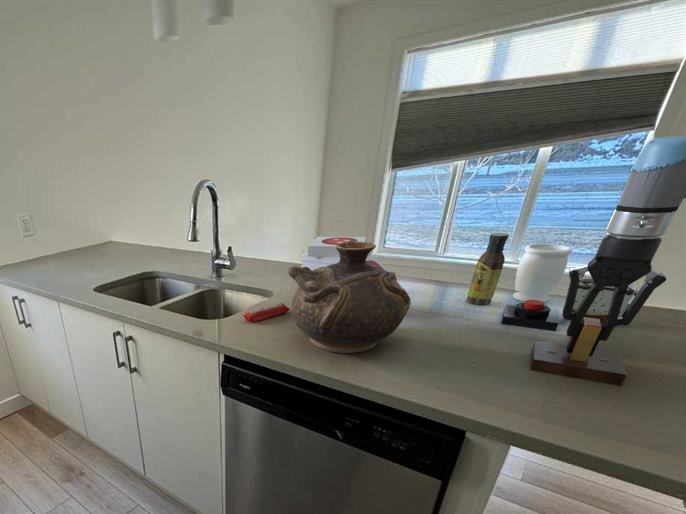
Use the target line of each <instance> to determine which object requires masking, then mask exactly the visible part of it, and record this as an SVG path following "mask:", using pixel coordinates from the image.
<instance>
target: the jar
mask: <svg viewBox="0 0 686 514" xmlns="http://www.w3.org/2000/svg"><path fill="white" fill-rule="evenodd" d="M523 250H524V252H525V253H524V254H523V256H522V257H521V259H520V261H519V263H518V266H517V270H516V274H515V280H514V281H515V282H514V288H515V289H514V290H515V292H514V293H513V294H512V297H513V299H515V300H517V301H519V302H523V303H525V301H526V300H540V301H543V302H545V303H546V302H548V301H549V295H550V294H551V293H552V292H553V291H554V290H555V288H556V287H557V285H558V284H559V282H560V280H561V279H562V278H563V276H564V273H565V271H566V268H567V265H568V261H569V255H571V254H572V253H573V250H574V248H573V247H572V246H568V245H565V244H564V245H563V244H554V243H532V244H531V243H530V244H527V245H525V246H524V249H523ZM516 291H519V292H516Z"/></svg>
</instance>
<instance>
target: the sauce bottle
mask: <svg viewBox="0 0 686 514" xmlns="http://www.w3.org/2000/svg"><path fill="white" fill-rule="evenodd" d="M508 239H509V233H506V232H492V233H490V235H489V241H488V244H487V247H486V250H485V252H483V253H482V255H480V256H479V258H478V260H477V263H476V265H475V269H474V272H473V275H472V279H471V281H470V285H469V288H468V292H467V297H466V301H467V302H468V303H470V304H471V305H475V306H486V305H487V306H488V305H489V304H491V302H492V299H493V297H494V296H495V295H494V294H495V292H496V289H497V286H498V283H499V280H500V277H501V274H502V271H503V268H504V264H505V261H506V257H505V255H504V251H505V250H504V249H505V245H506V242H507V241H508Z"/></svg>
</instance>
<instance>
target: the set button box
mask: <svg viewBox="0 0 686 514" xmlns="http://www.w3.org/2000/svg"><path fill="white" fill-rule="evenodd" d="M524 303H525V302H519V303H517V304H516V305H512V304H511V305H510V304H505V307H504V310H503V313H502V318H501V321H500V325H504V326H513V327H520V328H528V329H536V330H541V331H542V330H544V331H550V332H556V331H557V328H558V326H559V310H556V309H551V307H550V306H548V305H546V304H545V305H544V307H543V310H531V309H526V308H524V307H523V306H524Z"/></svg>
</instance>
